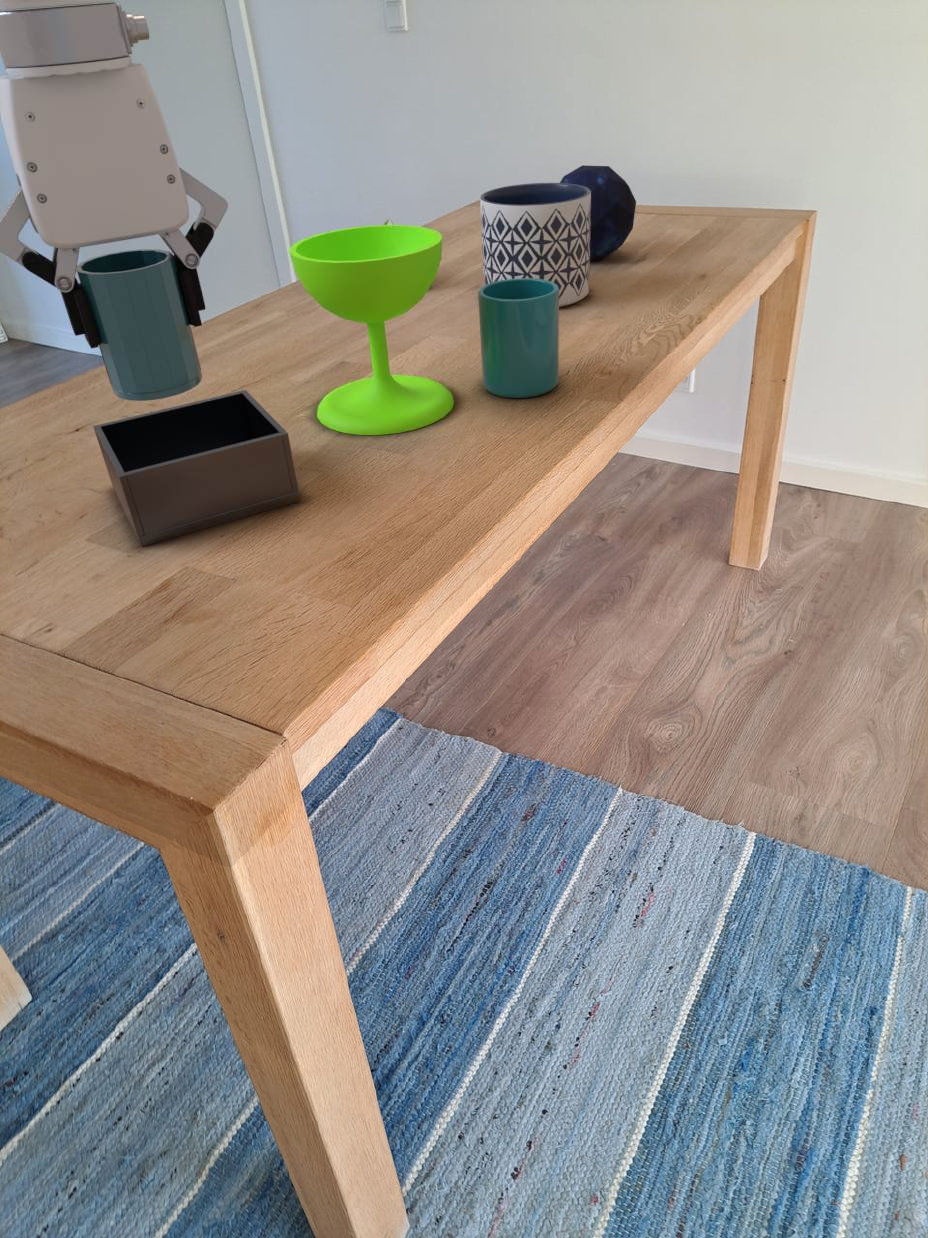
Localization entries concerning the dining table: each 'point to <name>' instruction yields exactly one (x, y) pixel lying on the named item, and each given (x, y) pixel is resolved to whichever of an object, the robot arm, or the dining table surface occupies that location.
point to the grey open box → (198, 465)
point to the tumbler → (141, 323)
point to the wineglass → (374, 319)
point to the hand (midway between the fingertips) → (143, 330)
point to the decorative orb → (605, 208)
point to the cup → (519, 336)
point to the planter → (538, 236)
